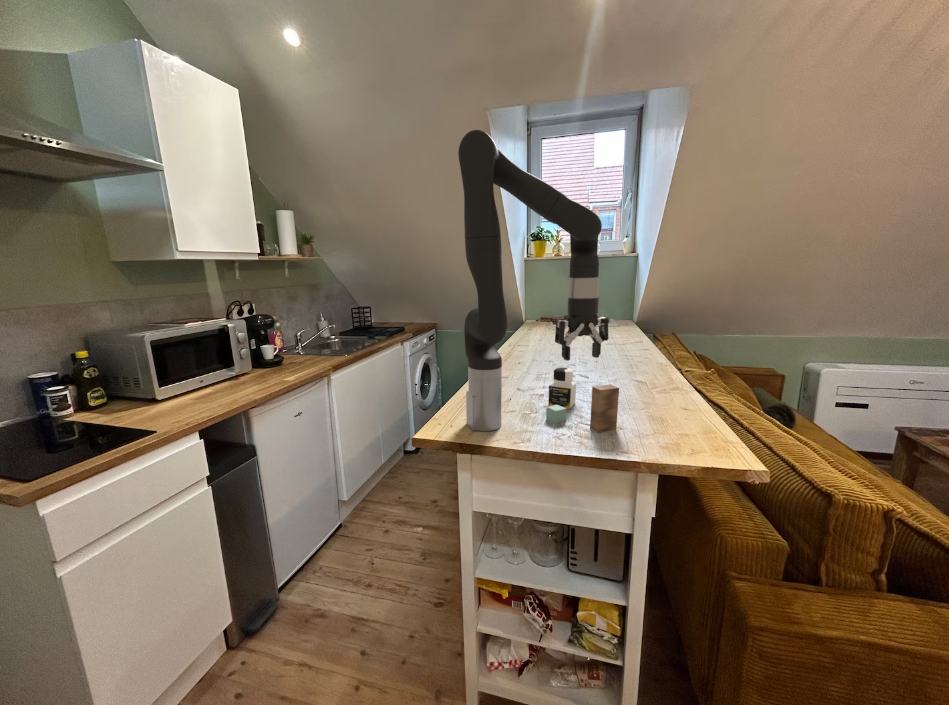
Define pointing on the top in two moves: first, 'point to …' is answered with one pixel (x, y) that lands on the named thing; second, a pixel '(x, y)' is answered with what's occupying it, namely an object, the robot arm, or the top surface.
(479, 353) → the robot arm
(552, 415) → the pale green block
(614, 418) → the walnut block
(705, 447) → the top surface
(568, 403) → the medicine bottle
